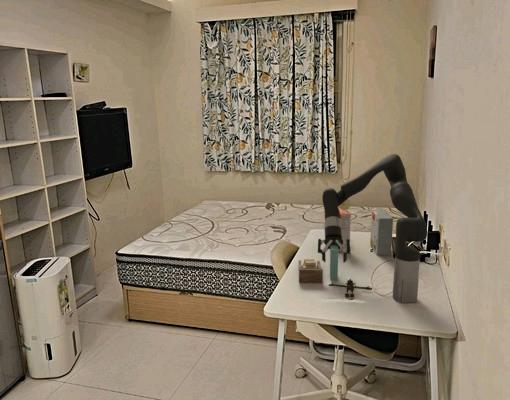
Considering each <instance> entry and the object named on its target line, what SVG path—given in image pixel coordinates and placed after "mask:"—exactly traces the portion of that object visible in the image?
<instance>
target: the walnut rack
mask: <svg viewBox="0 0 510 400" xmlns="http://www.w3.org/2000/svg"><path fill="white" fill-rule="evenodd" d="M316 267H317V269H303V264H302V260H300V259H299V260H298V283H299V284H323V283H324V282H323V279H324V278H323V276H324V275H323V274H324V273H323V272H324V269H323V268H322V266H321V261H320V260H317V262H316Z"/></svg>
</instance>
